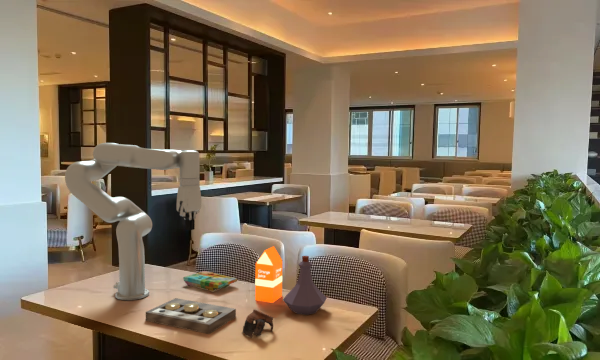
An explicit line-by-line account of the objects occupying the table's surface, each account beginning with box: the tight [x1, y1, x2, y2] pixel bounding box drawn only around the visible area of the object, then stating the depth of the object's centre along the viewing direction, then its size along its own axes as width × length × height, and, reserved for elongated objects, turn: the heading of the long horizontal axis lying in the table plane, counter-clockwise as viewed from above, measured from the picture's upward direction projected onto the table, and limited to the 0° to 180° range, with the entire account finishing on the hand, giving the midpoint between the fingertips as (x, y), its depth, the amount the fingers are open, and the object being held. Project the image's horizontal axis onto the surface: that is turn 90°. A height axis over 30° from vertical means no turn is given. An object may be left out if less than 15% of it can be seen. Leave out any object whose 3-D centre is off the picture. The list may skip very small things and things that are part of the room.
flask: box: [282, 255, 327, 316], centre depth 171 cm, size 16×16×20 cm
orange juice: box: [254, 245, 283, 304], centre depth 184 cm, size 8×9×20 cm
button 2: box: [203, 310, 218, 318], centre depth 159 cm, size 5×5×2 cm
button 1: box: [165, 303, 180, 311], centre depth 165 cm, size 5×5×2 cm
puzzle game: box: [182, 270, 238, 292], centre depth 199 cm, size 12×5×20 cm
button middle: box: [184, 303, 199, 315], centre depth 162 cm, size 5×5×2 cm
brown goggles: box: [241, 309, 274, 338], centre depth 150 cm, size 12×10×8 cm
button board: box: [145, 297, 237, 335], centre depth 162 cm, size 26×16×3 cm, turn 66°
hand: (189, 229), depth 182 cm, fingers closed
